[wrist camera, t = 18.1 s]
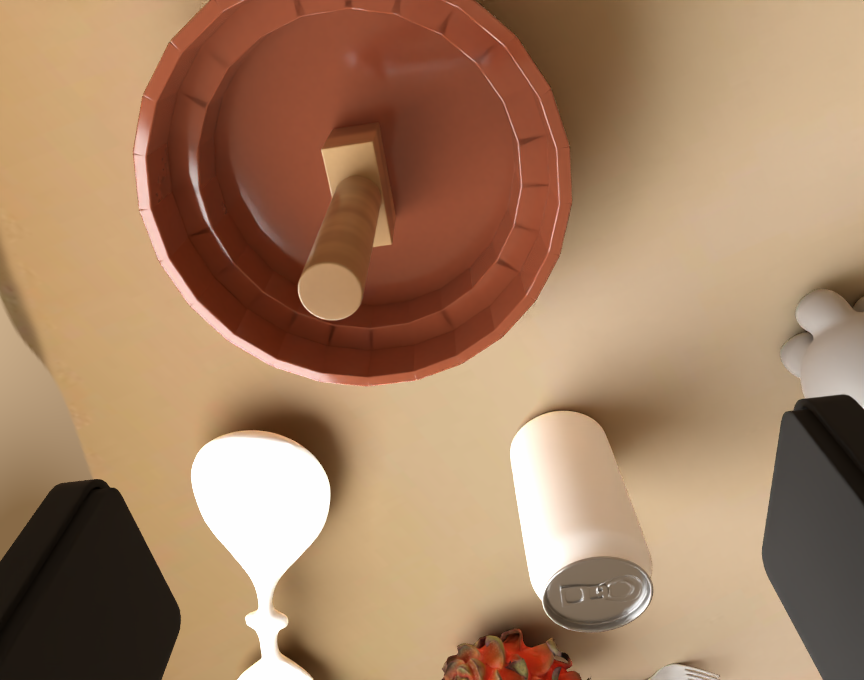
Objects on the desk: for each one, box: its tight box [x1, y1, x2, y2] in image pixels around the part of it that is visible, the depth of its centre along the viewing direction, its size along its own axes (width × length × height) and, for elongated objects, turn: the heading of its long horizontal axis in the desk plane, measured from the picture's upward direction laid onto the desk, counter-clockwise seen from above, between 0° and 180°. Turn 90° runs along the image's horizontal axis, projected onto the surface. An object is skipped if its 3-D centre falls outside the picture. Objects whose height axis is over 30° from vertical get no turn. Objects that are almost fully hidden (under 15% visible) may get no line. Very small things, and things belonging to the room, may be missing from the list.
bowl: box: [133, 0, 572, 386], centre depth 32 cm, size 19×19×6 cm
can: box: [510, 411, 653, 633], centre depth 39 cm, size 6×6×12 cm
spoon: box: [191, 430, 330, 680], centre depth 49 cm, size 9×32×4 cm, turn 176°
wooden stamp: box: [298, 122, 396, 320], centre depth 28 cm, size 5×2×14 cm, turn 8°
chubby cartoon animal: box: [780, 289, 864, 409], centre depth 37 cm, size 7×12×8 cm, turn 174°
